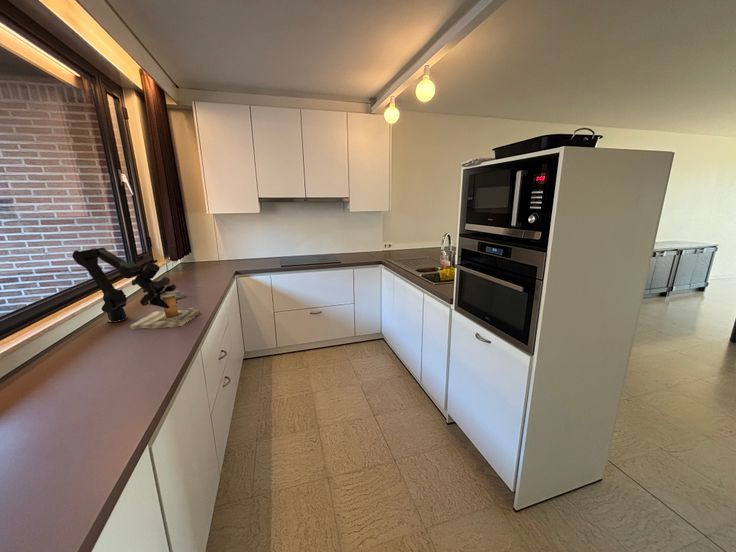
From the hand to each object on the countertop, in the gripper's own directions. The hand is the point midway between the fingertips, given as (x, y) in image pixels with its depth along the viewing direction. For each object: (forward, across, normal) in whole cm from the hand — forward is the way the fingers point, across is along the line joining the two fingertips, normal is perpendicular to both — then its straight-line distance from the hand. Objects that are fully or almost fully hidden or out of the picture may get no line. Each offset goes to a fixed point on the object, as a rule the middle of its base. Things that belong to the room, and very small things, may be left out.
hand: (172, 305), depth 152 cm
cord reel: (+4, 0, +6) cm, 7 cm away
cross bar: (+7, +1, +1) cm, 7 cm away
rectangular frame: (+3, 0, +9) cm, 9 cm away
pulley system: (-13, +33, +26) cm, 44 cm away
